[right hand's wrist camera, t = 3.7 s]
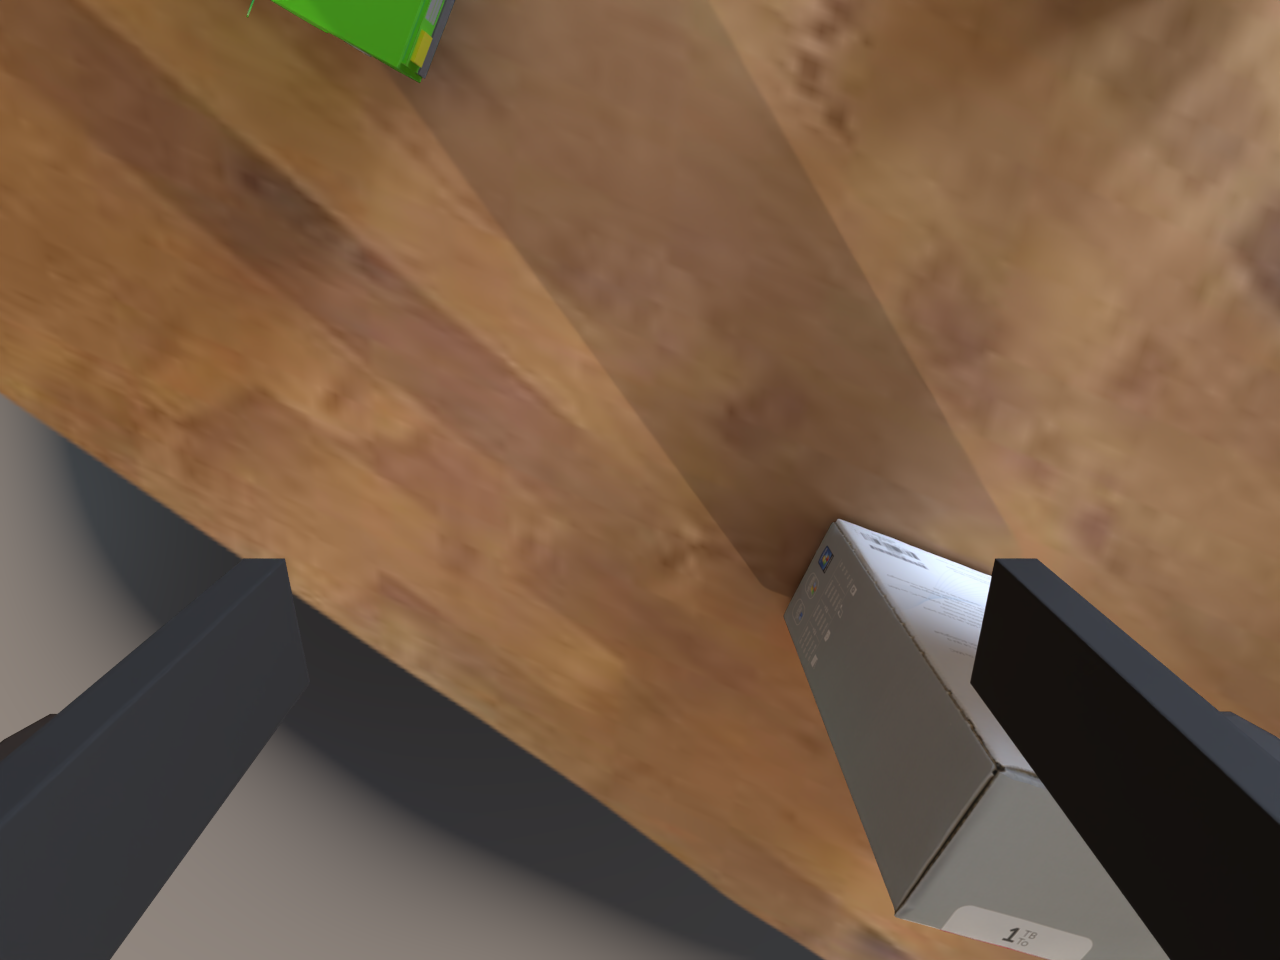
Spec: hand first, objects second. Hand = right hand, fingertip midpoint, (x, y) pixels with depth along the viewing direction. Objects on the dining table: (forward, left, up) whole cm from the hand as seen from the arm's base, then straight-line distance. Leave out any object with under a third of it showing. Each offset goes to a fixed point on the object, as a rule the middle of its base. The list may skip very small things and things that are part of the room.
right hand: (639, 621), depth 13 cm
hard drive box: (-7, +22, -26) cm, 35 cm away
